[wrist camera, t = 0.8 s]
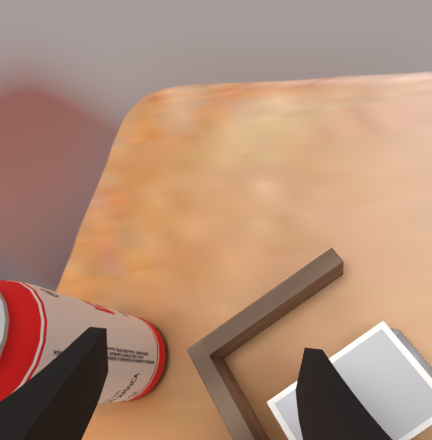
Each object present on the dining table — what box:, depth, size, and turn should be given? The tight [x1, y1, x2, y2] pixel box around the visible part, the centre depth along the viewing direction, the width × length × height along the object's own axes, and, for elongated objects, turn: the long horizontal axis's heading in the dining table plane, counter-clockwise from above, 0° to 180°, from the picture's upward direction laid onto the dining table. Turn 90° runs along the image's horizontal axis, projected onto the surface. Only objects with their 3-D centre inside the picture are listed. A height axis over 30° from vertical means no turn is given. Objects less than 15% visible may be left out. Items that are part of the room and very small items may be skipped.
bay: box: [187, 248, 343, 440], centre depth 23 cm, size 16×12×4 cm
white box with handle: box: [267, 321, 432, 440], centre depth 21 cm, size 5×9×6 cm, turn 121°
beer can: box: [0, 280, 166, 404], centre depth 23 cm, size 6×6×16 cm
